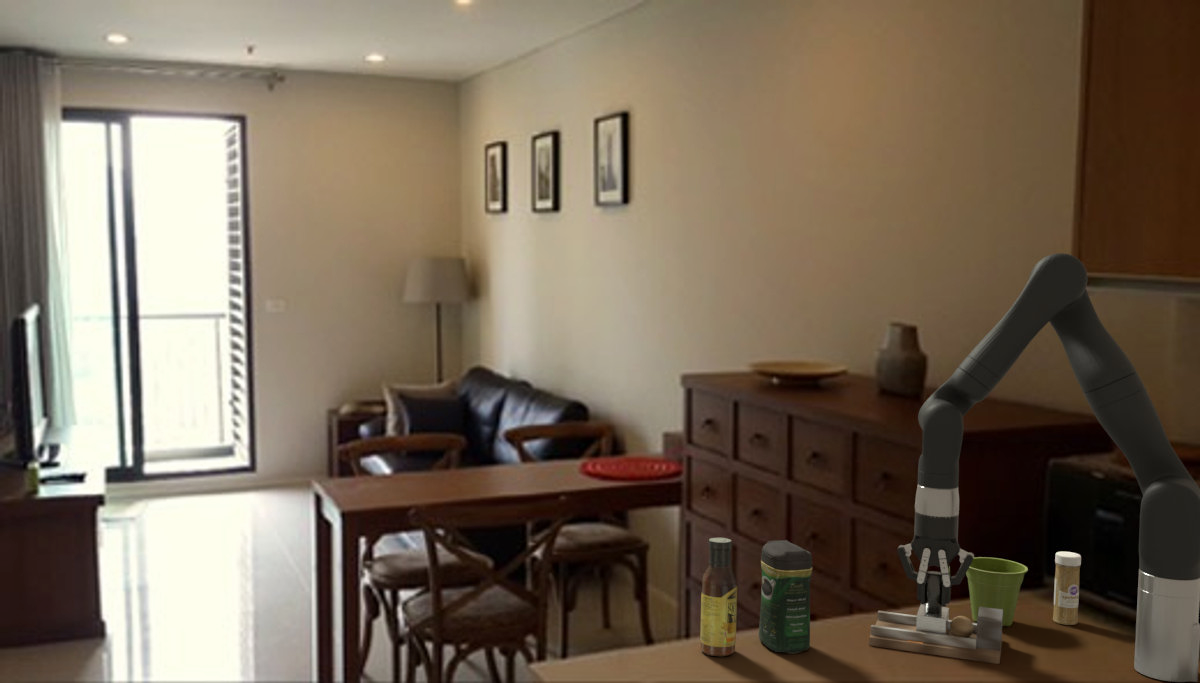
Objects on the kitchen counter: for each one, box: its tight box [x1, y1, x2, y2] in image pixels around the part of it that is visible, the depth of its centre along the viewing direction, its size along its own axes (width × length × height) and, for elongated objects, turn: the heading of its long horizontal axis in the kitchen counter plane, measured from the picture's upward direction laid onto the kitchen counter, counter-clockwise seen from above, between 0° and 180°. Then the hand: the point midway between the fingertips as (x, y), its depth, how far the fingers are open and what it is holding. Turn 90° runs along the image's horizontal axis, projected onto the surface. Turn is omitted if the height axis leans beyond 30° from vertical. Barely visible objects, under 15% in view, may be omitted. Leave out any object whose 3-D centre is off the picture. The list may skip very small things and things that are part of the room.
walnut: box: [950, 615, 974, 638], centre depth 194 cm, size 4×4×4 cm
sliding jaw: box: [916, 570, 950, 635], centre depth 195 cm, size 5×7×11 cm
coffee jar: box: [758, 539, 813, 654], centre depth 192 cm, size 10×8×19 cm
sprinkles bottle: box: [1052, 550, 1082, 626], centre depth 208 cm, size 5×5×13 cm
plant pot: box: [965, 556, 1029, 627], centre depth 207 cm, size 12×12×11 cm
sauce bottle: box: [699, 537, 738, 657], centre depth 189 cm, size 7×6×20 cm
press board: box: [868, 607, 1003, 665], centre depth 195 cm, size 22×13×6 cm, turn 68°
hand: (933, 603), depth 195 cm, fingers closed on sliding jaw, 3 cm apart
